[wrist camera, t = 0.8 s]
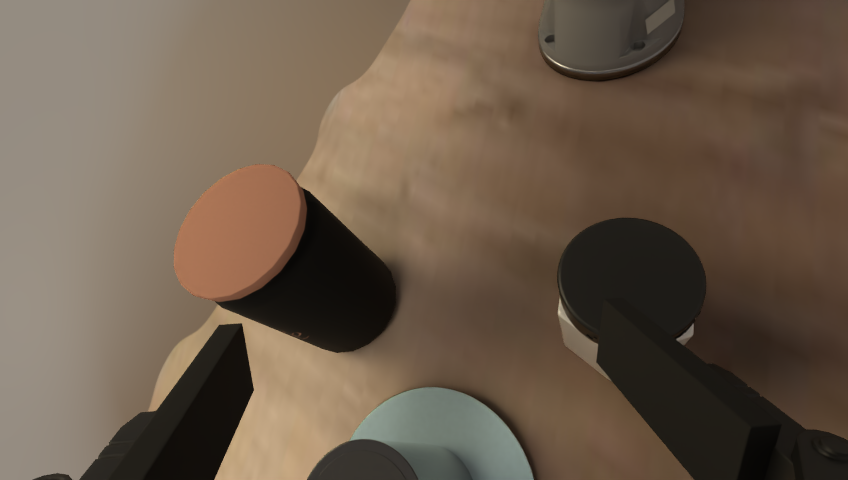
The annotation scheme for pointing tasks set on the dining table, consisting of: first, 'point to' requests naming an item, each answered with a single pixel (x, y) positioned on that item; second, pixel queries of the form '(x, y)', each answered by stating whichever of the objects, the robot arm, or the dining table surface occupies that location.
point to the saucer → (450, 431)
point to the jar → (628, 281)
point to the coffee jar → (283, 261)
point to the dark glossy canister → (389, 462)
